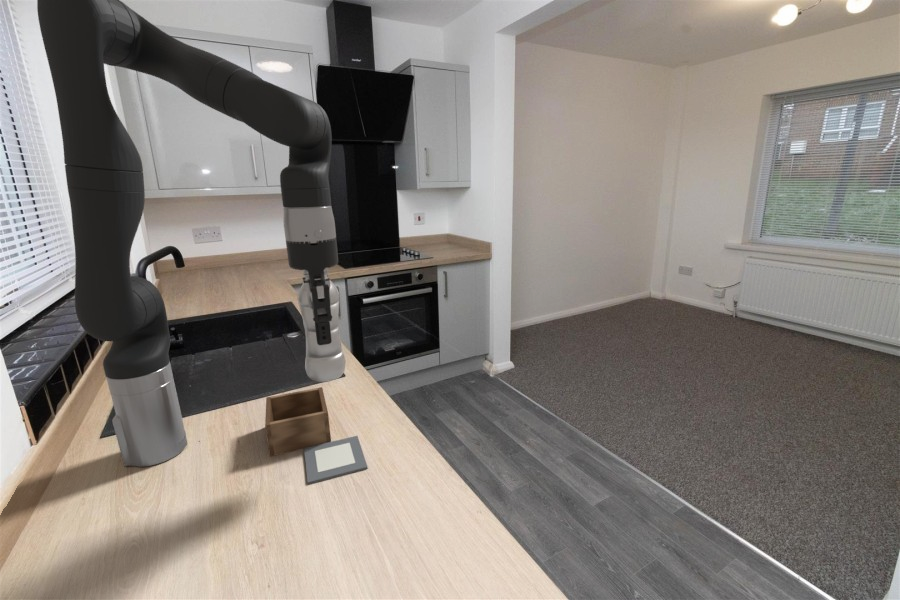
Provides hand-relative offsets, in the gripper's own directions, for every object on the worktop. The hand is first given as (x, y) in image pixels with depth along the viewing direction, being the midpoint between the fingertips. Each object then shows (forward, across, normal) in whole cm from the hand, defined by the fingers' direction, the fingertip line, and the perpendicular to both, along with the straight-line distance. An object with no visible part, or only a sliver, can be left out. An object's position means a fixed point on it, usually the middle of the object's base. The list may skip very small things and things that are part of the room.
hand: (322, 336), depth 69 cm
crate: (+24, -11, -6) cm, 27 cm away
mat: (+24, 0, 0) cm, 24 cm away
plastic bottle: (+8, 0, 0) cm, 8 cm away
